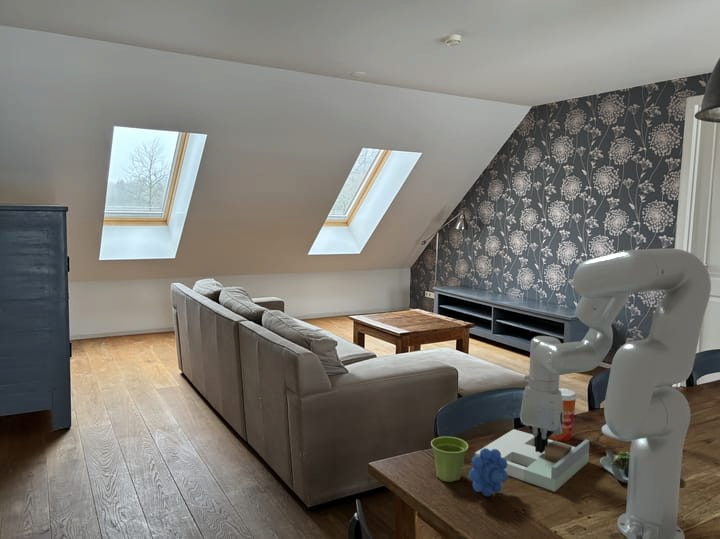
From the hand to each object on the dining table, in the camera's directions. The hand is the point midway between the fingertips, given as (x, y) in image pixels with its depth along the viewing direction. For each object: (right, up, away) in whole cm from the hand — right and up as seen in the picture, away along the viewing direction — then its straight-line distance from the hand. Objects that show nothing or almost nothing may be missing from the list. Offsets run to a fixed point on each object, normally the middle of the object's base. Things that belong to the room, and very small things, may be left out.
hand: (540, 450), depth 149 cm
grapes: (-17, -6, -16) cm, 24 cm away
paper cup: (+12, -2, +19) cm, 23 cm away
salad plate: (+24, -5, -4) cm, 25 cm away
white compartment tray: (-2, -4, +2) cm, 5 cm away
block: (+4, -1, -3) cm, 5 cm away
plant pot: (-25, -5, -6) cm, 27 cm away
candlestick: (+33, -2, +22) cm, 39 cm away
